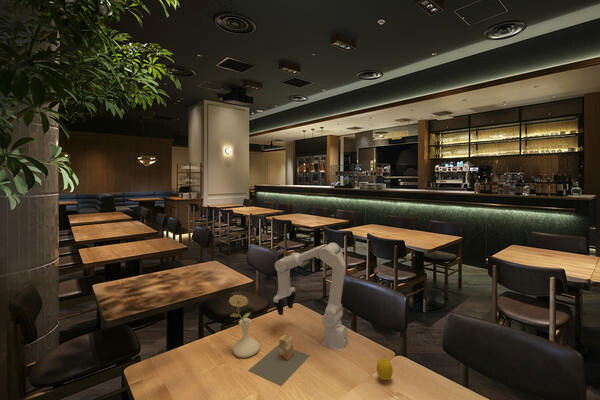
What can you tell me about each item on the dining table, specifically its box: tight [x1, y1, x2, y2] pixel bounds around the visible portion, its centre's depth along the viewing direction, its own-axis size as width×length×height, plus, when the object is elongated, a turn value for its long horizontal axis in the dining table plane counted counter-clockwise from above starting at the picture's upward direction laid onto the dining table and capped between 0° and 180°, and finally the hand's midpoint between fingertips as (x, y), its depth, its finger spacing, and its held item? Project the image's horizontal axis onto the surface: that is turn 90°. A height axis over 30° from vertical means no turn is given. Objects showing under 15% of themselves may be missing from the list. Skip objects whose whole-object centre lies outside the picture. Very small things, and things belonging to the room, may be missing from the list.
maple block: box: [278, 334, 294, 361], centre depth 119 cm, size 4×4×8 cm
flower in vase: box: [228, 294, 261, 358], centre depth 124 cm, size 13×11×25 cm
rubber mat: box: [247, 344, 311, 387], centre depth 116 cm, size 16×20×1 cm
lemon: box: [376, 358, 394, 381], centre depth 105 cm, size 6×6×8 cm
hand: (285, 311), depth 139 cm, fingers open, 7 cm apart
